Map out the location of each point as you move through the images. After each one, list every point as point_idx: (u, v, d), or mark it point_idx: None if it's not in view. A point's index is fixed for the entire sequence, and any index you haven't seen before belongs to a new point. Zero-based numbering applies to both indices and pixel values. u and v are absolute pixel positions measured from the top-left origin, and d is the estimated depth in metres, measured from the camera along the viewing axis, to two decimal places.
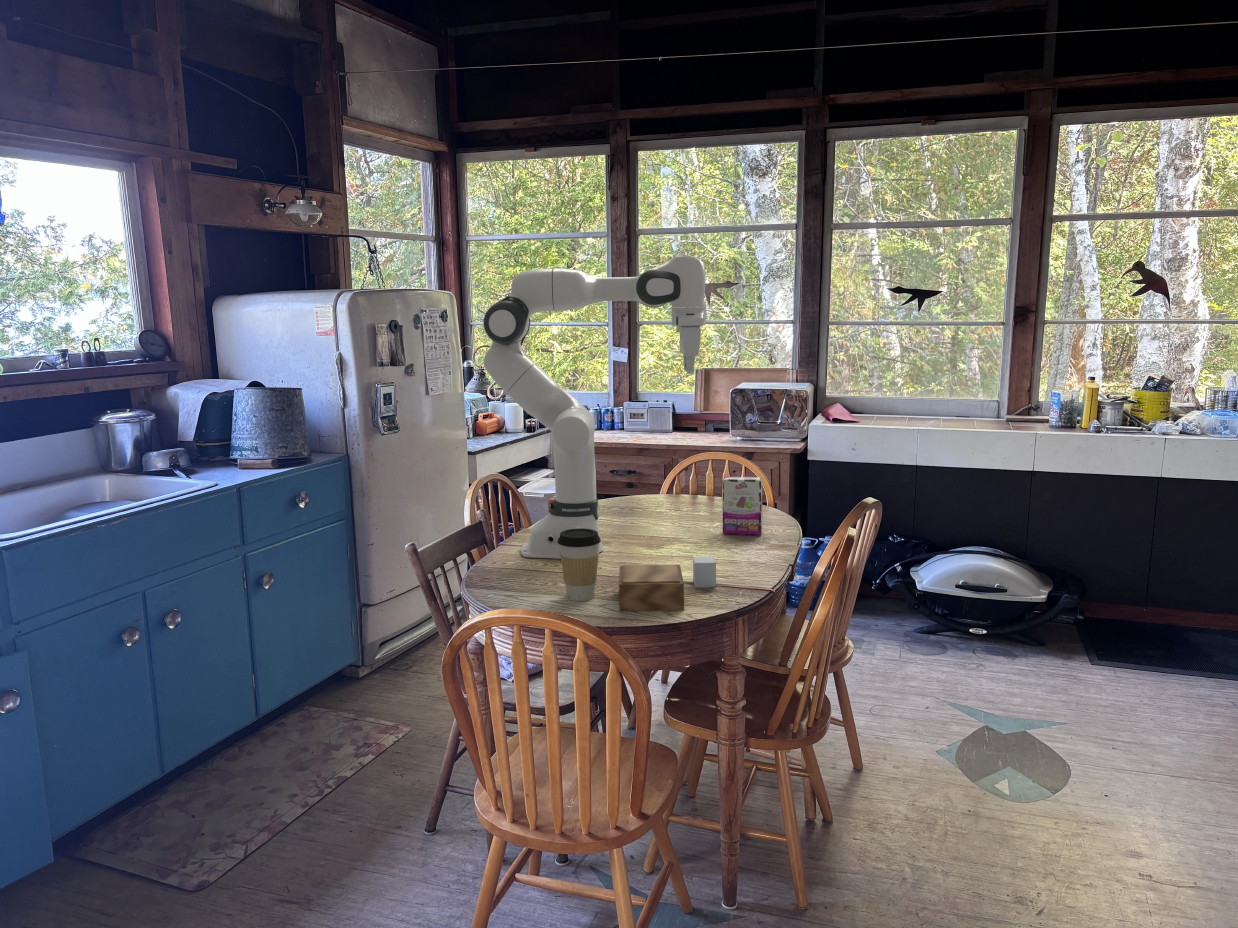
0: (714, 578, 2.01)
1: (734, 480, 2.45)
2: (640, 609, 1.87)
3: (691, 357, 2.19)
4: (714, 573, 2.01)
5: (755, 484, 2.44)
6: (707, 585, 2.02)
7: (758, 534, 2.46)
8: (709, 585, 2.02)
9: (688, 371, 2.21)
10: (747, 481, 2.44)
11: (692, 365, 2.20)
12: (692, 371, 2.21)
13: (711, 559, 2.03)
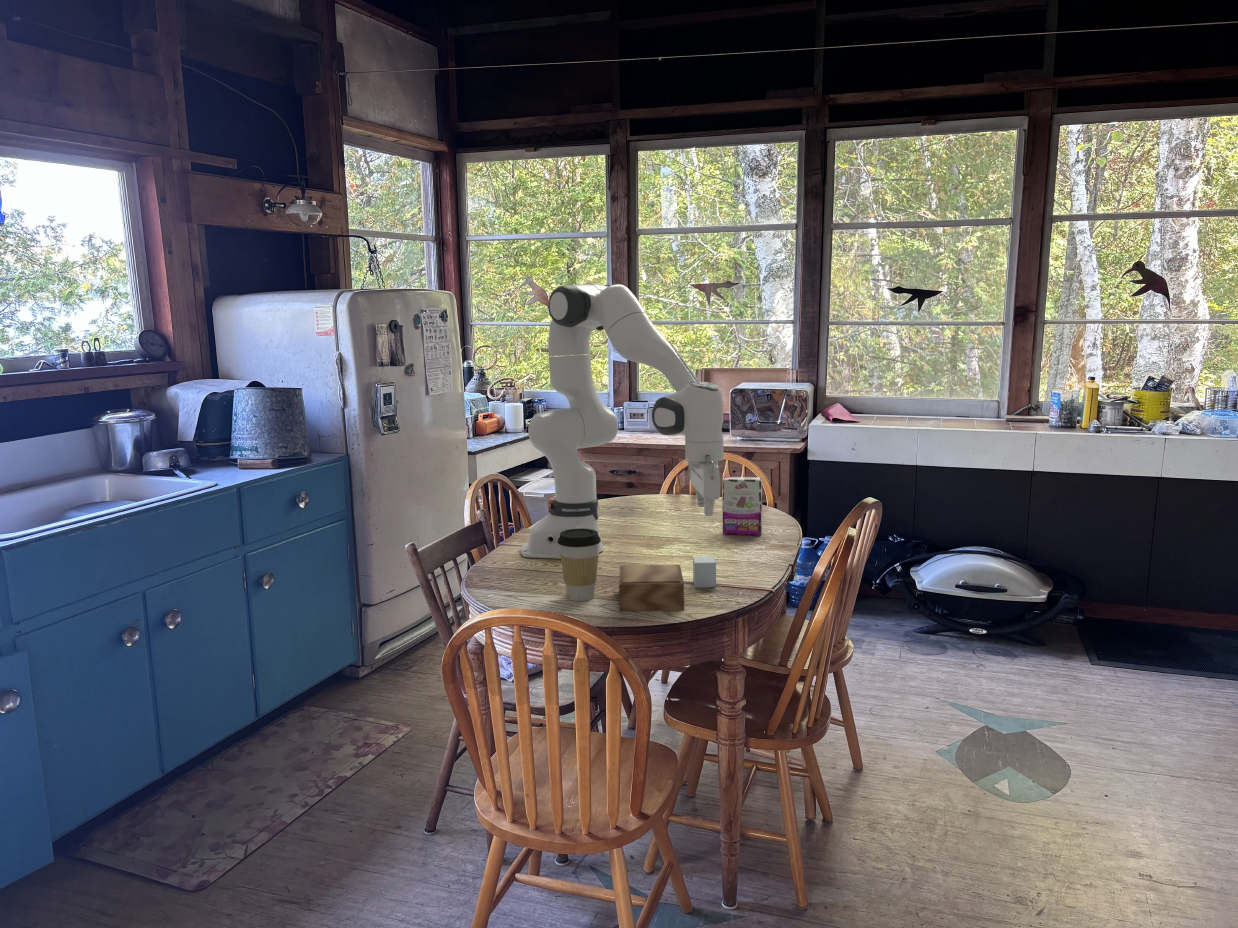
0: (714, 578, 2.01)
1: (734, 480, 2.45)
2: (640, 609, 1.87)
3: None
4: (714, 573, 2.01)
5: (755, 484, 2.44)
6: (707, 585, 2.02)
7: (758, 534, 2.46)
8: (709, 585, 2.02)
9: None
10: (747, 481, 2.44)
11: None
12: None
13: (711, 559, 2.03)
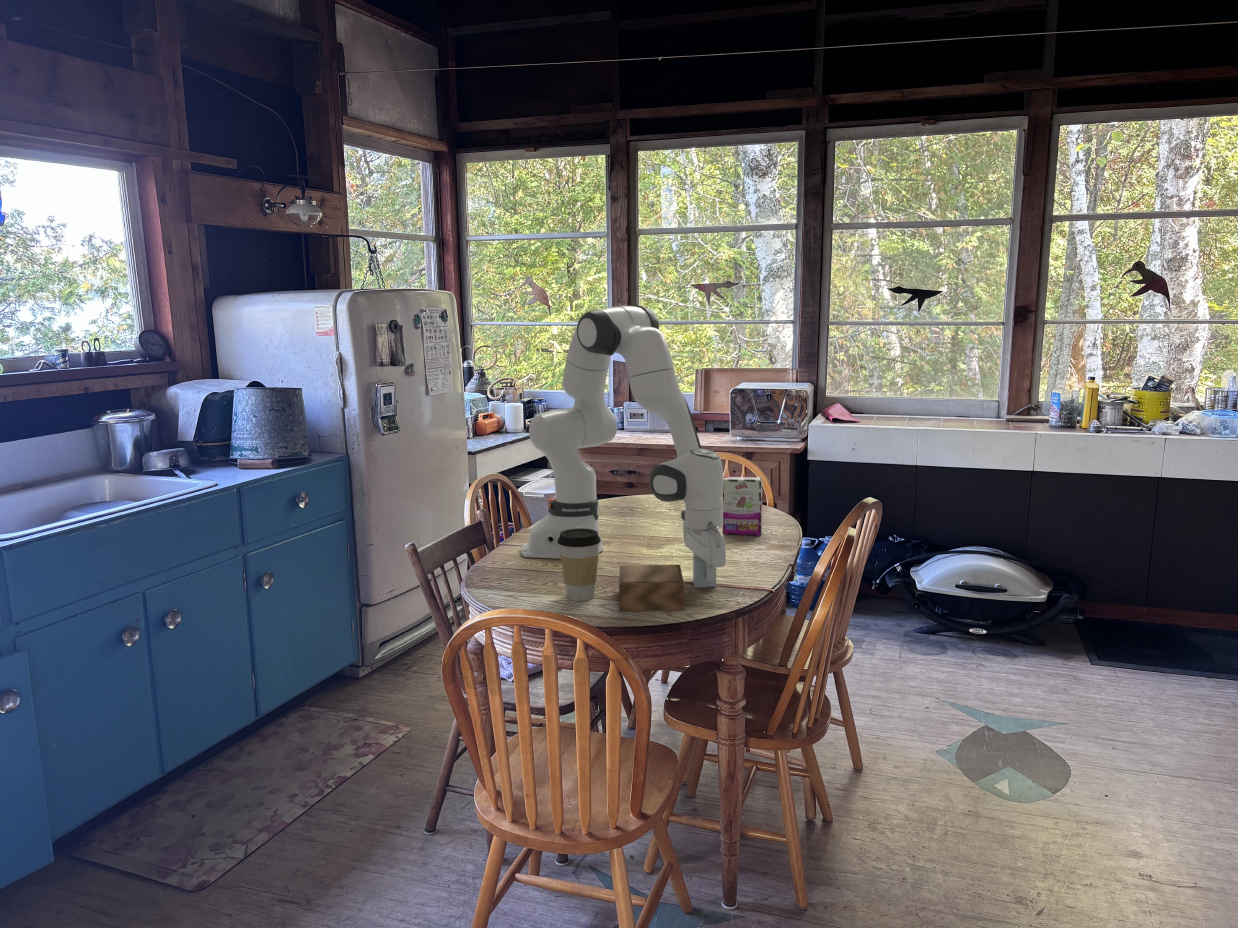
0: (714, 578, 2.01)
1: (734, 480, 2.45)
2: (640, 609, 1.87)
3: None
4: (714, 573, 2.01)
5: (755, 484, 2.44)
6: (707, 585, 2.02)
7: (758, 534, 2.46)
8: (709, 585, 2.02)
9: None
10: (747, 481, 2.44)
11: None
12: None
13: None
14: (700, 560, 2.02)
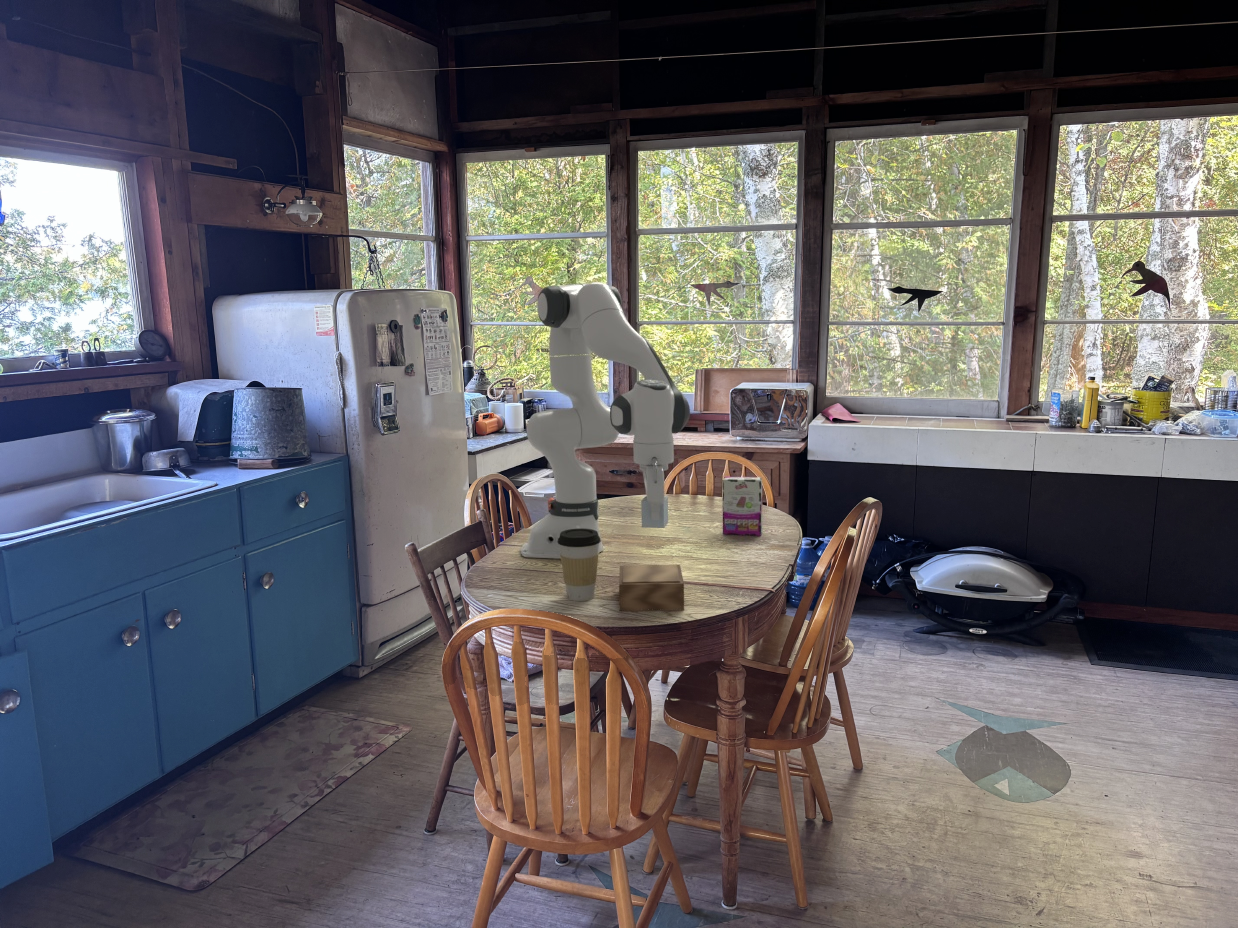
0: (662, 518, 1.88)
1: (734, 480, 2.45)
2: (640, 609, 1.87)
3: None
4: (662, 513, 1.88)
5: (755, 484, 2.44)
6: (654, 525, 1.89)
7: (758, 534, 2.46)
8: (657, 525, 1.89)
9: None
10: (747, 481, 2.44)
11: None
12: None
13: None
14: None
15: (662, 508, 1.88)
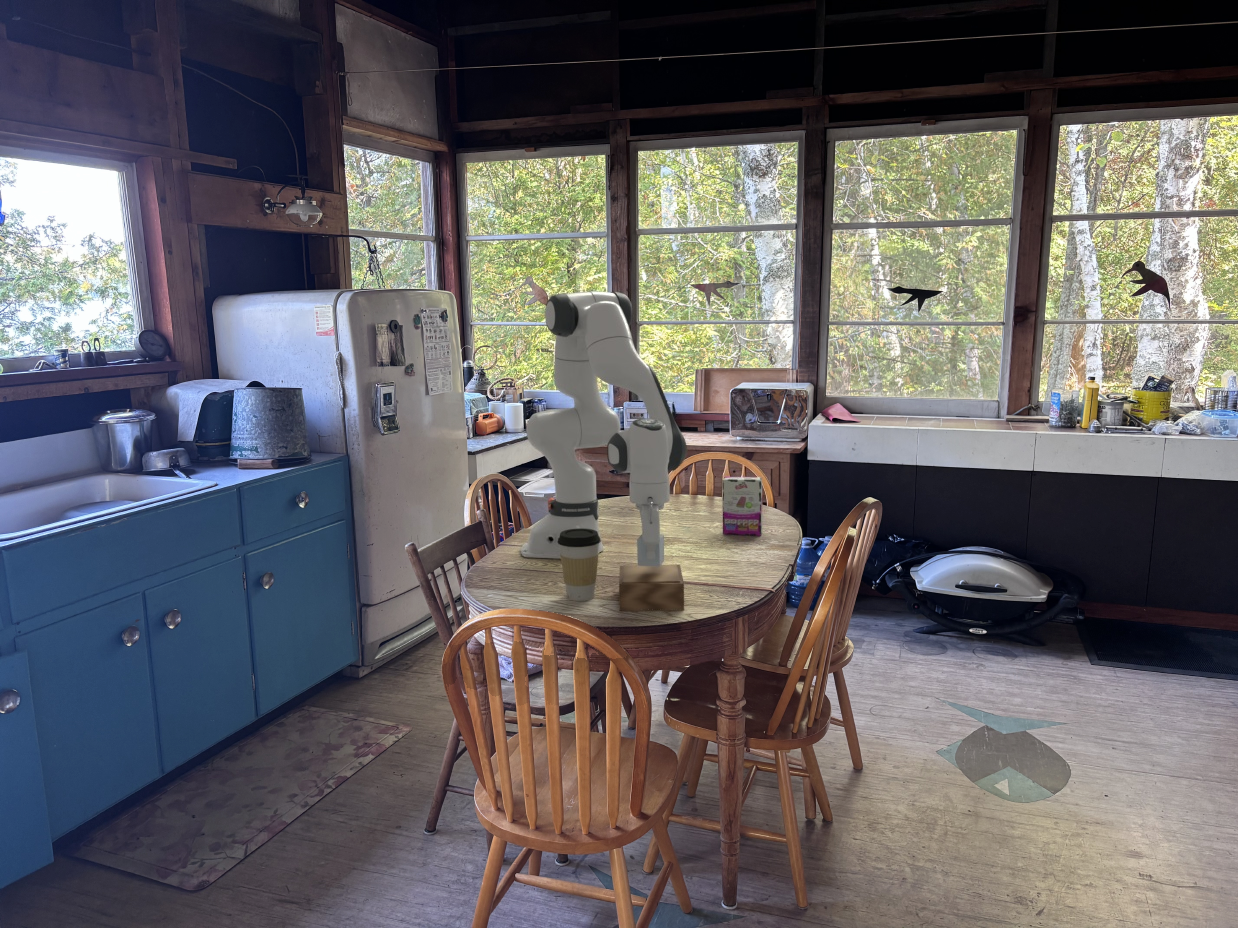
0: (657, 557, 1.89)
1: (734, 480, 2.45)
2: (640, 609, 1.87)
3: None
4: (657, 552, 1.88)
5: (755, 484, 2.44)
6: (650, 564, 1.89)
7: (758, 534, 2.46)
8: (652, 564, 1.89)
9: None
10: (747, 481, 2.44)
11: None
12: None
13: None
14: None
15: (658, 547, 1.88)
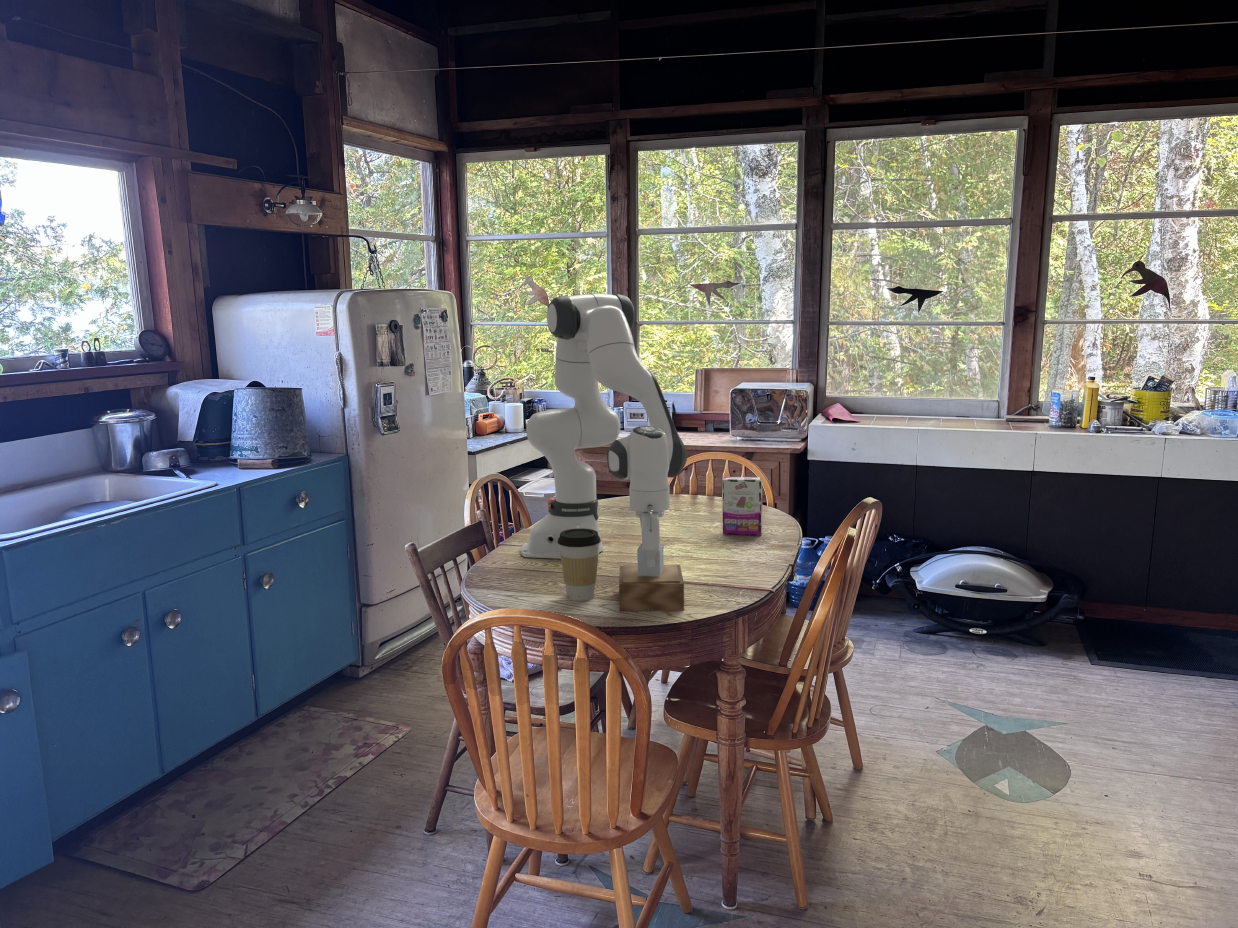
0: (658, 567, 1.89)
1: (734, 480, 2.45)
2: (640, 609, 1.87)
3: None
4: (658, 562, 1.89)
5: (755, 484, 2.44)
6: (650, 574, 1.90)
7: (758, 534, 2.46)
8: (653, 574, 1.90)
9: None
10: (747, 481, 2.44)
11: None
12: None
13: None
14: None
15: (658, 557, 1.89)
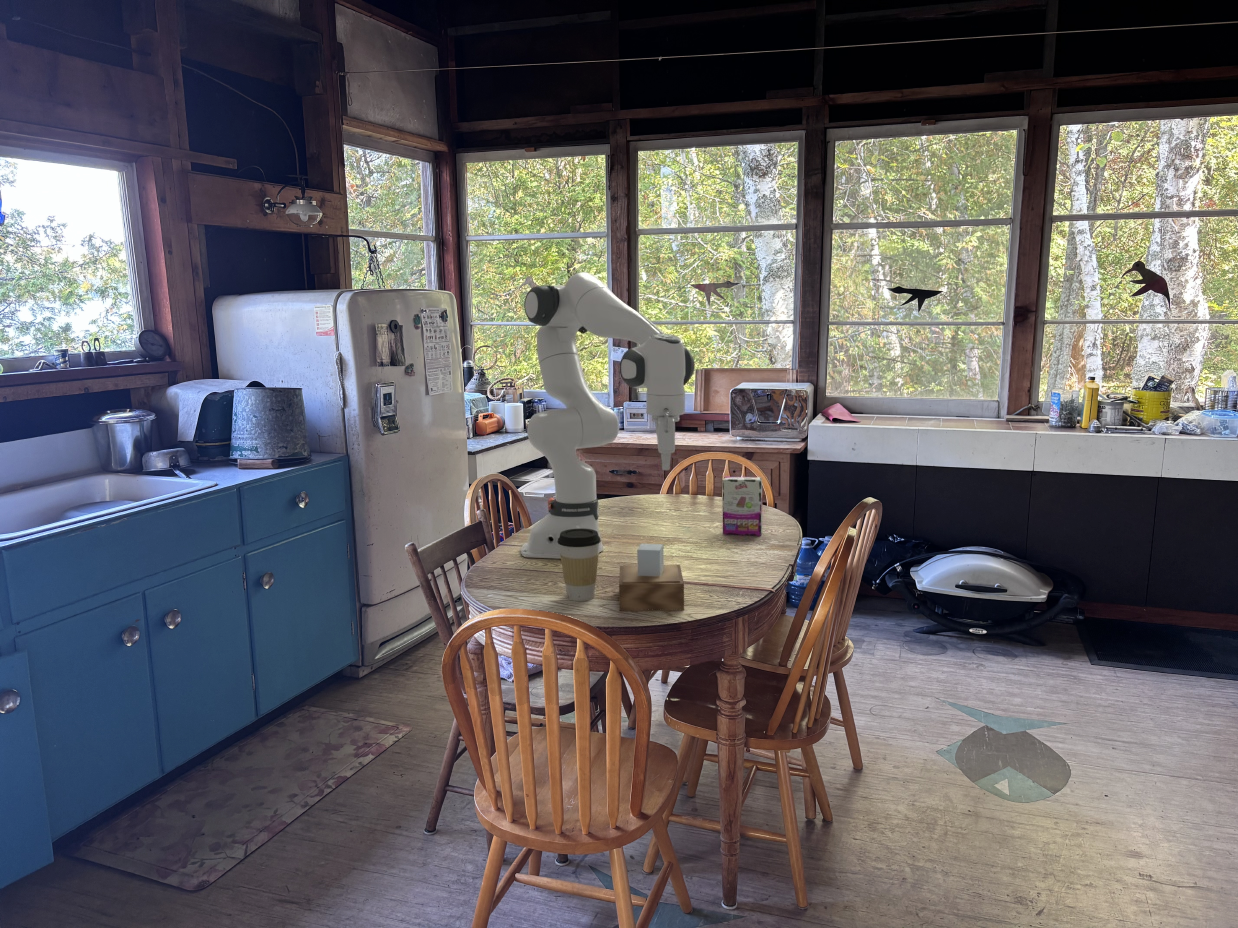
0: (658, 567, 1.89)
1: (734, 480, 2.45)
2: (640, 609, 1.87)
3: None
4: (658, 562, 1.89)
5: (755, 484, 2.44)
6: (650, 574, 1.90)
7: (758, 534, 2.46)
8: (653, 574, 1.90)
9: None
10: (747, 481, 2.44)
11: None
12: None
13: (658, 546, 1.91)
14: (645, 547, 1.91)
15: (658, 557, 1.89)
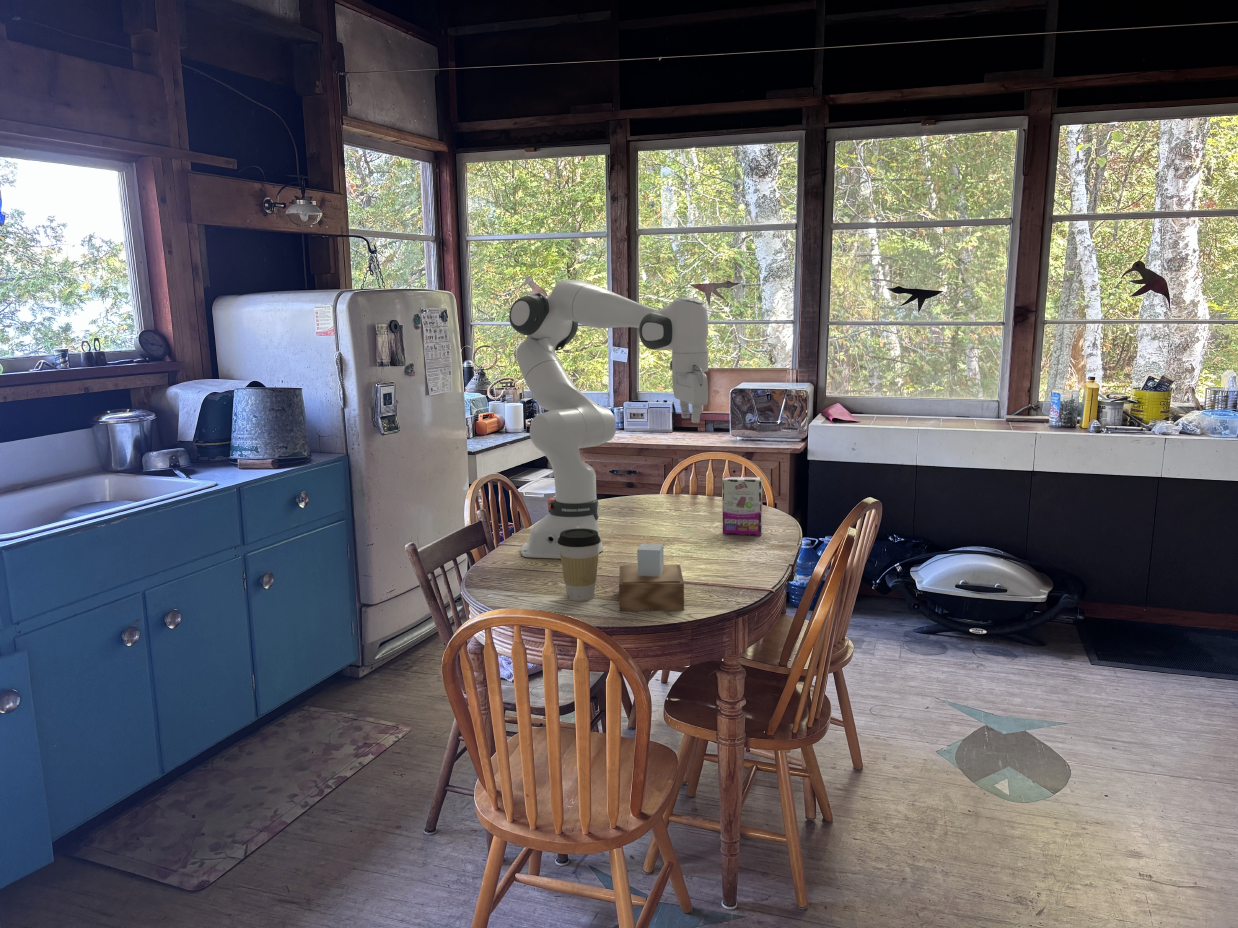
0: (658, 567, 1.89)
1: (734, 480, 2.45)
2: (640, 609, 1.87)
3: None
4: (658, 562, 1.89)
5: (755, 484, 2.44)
6: (650, 574, 1.90)
7: (758, 534, 2.46)
8: (653, 574, 1.90)
9: None
10: (747, 481, 2.44)
11: None
12: None
13: (658, 546, 1.91)
14: (645, 547, 1.91)
15: (658, 557, 1.89)
